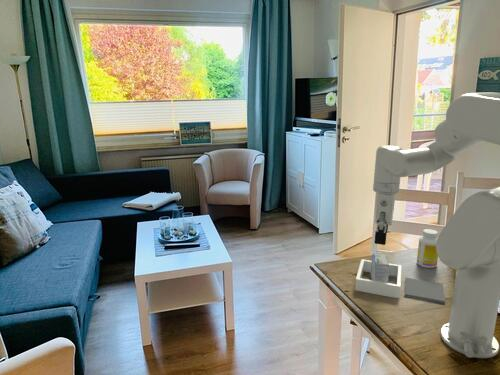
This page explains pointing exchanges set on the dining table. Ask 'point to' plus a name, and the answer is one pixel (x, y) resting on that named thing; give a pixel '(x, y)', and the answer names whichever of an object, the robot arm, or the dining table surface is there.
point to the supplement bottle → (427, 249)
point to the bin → (377, 286)
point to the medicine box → (379, 268)
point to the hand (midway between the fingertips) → (381, 237)
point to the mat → (424, 290)
